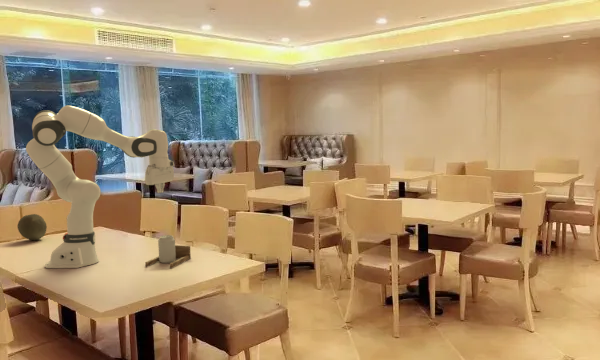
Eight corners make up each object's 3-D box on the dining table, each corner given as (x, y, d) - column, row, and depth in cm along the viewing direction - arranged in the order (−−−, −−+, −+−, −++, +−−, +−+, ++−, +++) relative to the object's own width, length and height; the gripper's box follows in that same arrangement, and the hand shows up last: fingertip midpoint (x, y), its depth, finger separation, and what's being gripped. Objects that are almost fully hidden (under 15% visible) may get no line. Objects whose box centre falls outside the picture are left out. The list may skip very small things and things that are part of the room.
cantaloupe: (39, 236, 298) (37, 211, 297) (52, 239, 290) (50, 213, 289) (14, 241, 287) (12, 215, 286) (26, 244, 279) (24, 217, 277)
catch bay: (172, 267, 224) (171, 254, 224) (145, 266, 228) (144, 253, 227) (190, 258, 241) (190, 245, 240) (165, 256, 244) (164, 244, 244)
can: (172, 263, 231) (171, 237, 230) (156, 263, 232) (155, 237, 231) (178, 259, 239) (177, 234, 237) (162, 259, 239) (161, 234, 238)
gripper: (153, 165, 230) (154, 195, 232) (175, 162, 250) (176, 190, 251) (140, 165, 232) (142, 195, 233) (164, 162, 252) (165, 190, 253)
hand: (160, 192), depth 243 cm, fingers closed
